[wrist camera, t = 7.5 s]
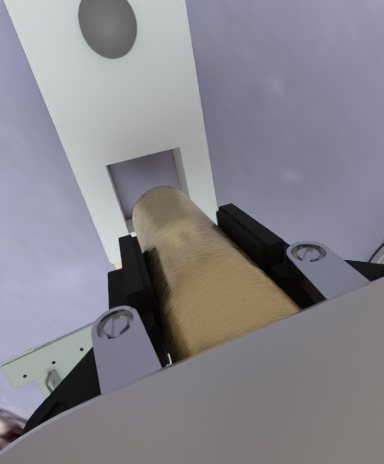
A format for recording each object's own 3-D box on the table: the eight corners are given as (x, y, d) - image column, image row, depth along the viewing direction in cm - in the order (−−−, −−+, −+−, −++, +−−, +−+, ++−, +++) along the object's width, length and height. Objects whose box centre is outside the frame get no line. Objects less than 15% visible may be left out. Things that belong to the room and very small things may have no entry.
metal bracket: (189, 407, 29) (57, 477, 27) (181, 372, 35) (71, 428, 33) (135, 297, 26) (-17, 367, 24) (136, 278, 31) (12, 334, 30)
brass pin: (187, 178, 15) (395, 344, 4) (198, 234, 16) (367, 449, 6) (124, 196, 14) (189, 442, 4) (142, 252, 16) (223, 529, 5)
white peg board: (14, 3, 16) (-10, -24, 13) (168, -17, 18) (182, -46, 15) (134, 310, 28) (138, 336, 25) (220, 279, 30) (234, 300, 27)
